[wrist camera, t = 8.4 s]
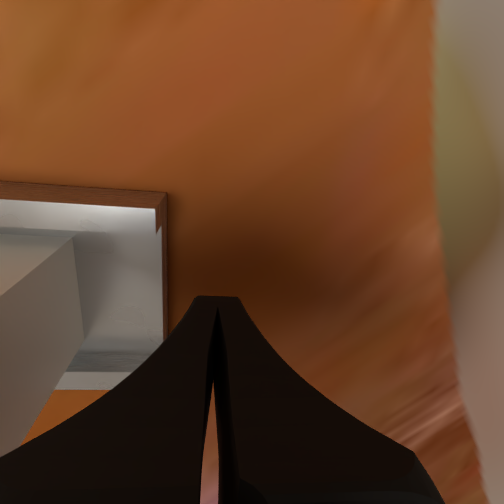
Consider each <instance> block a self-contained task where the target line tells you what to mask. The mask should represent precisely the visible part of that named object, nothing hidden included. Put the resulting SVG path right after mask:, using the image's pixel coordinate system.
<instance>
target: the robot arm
mask: <svg viewBox="0 0 504 504" xmlns="http://www.w3.org/2000/svg"><path fill="white" fill-rule="evenodd" d="M213 381H214V395H215V410H216V424H217V438H218V455H219V490H218V504H445V502H444V501H443V499H442V497H441V495H440V493H439V491H438V490H437V488H436V486H435V485H434V483H433V481H432V479H431V478H430V476H429V474H428V473H427V472H426V470H425V469H424V467H423V466H422V464H421V463H420V461H419V460H418V458H417V457H416V455H415V453H414V452H413V451H411V450H409V449H408V448H406V447H404V446H402V445H401V444H399V443H397V442H395V441H394V440H392V439H390V438H388V437H387V436H385V435H383V434H381V433H379V432H378V431H376V430H374V429H372V428H371V427H369V426H367V425H366V424H364V423H362V422H361V421H359V420H358V419H356V418H355V417H353V416H352V415H350V414H349V413H347V412H346V411H344V410H343V409H341V408H340V407H339V406H337V405H336V404H334V403H333V402H332V401H330V400H329V399H327V398H326V397H325V396H324V395H322V394H321V393H320V392H319V391H317V390H316V389H315V388H314V387H312V386H311V385H310V384H309V383H307V382H306V381H305V380H304V379H303V378H302V377H300V376H299V375H298V374H297V373H296V372H295V371H294V370H293V369H292V368H291V367H290V366H289V365H288V364H287V363H286V362H285V361H284V360H283V359H282V358H281V357H280V356H279V355H278V353H277V352H276V351H275V350H274V349H273V348H272V346H271V345H270V344H269V343H268V342H267V340H266V339H265V338H264V336H263V335H262V334H261V332H260V331H259V330H258V328H257V327H256V325H255V324H254V323H253V321H252V320H251V318H250V316H249V315H248V313H247V312H246V310H245V308H244V306H243V305H242V303H241V301H240V299H239V298H238V297H225V296H197V297H196V298H194V300H193V302H192V304H191V306H190V307H189V309H188V311H187V312H186V313H185V315H184V316H183V318H182V319H181V320H180V322H179V323H178V324H177V326H176V327H175V328H174V330H173V331H172V332H171V333H170V335H169V336H168V337H167V338H166V339H165V340H164V341H163V342H162V344H161V345H160V346H159V347H158V348H157V349H156V350H155V351H154V352H153V353H152V354H151V355H150V356H149V357H148V358H147V359H146V360H145V361H144V362H143V363H142V364H141V365H140V366H139V367H138V368H137V369H135V370H134V371H133V372H132V373H131V374H130V375H128V376H127V377H126V378H125V379H124V380H122V381H121V382H120V383H119V384H117V385H116V386H115V387H114V388H113V389H111V390H110V391H109V392H107V393H106V394H105V395H103V396H102V397H101V398H99V399H98V400H96V401H95V402H93V403H92V404H90V405H89V406H87V407H86V408H84V409H83V410H81V411H80V412H78V413H77V414H75V415H73V416H72V417H70V418H69V419H67V420H66V421H64V422H62V423H61V424H59V425H57V426H56V427H54V428H52V429H51V430H49V431H47V432H45V433H43V434H42V435H40V436H38V437H36V438H34V439H32V440H31V441H29V442H27V443H25V444H23V445H22V446H20V447H18V448H16V449H14V450H13V451H11V452H9V453H7V454H5V455H3V456H1V457H0V504H200V492H201V473H202V461H203V451H204V443H205V436H206V429H207V422H208V415H209V407H210V400H211V393H212V386H213Z"/></svg>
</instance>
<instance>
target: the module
mask: <svg viewBox="0 0 504 504" xmlns="http://www.w3.org/2000/svg"><path fill="white" fill-rule="evenodd" d="M84 340H85V339H84V330H83V322H82V314H81V306H80V297H79V289H78V281H77V273H76V265H75V256H74V248H73V240H72V238H70V237H51V236H32V235H12V234H0V457H1V456H3V455H5V454H7V453H9V452H11V451H13V450H14V449H16V448H18V447H19V446H20V445H21V443H22V441H23V440H24V438H25V437H26V435H27V433H28V432H29V430H30V428H31V427H32V425H33V423H34V422H35V420H36V419H37V417H38V415H39V414H40V412H41V410H42V409H43V407H44V405H45V404H46V402H47V401H48V399H49V397H50V396H51V394H52V392H53V391H54V389H55V387H56V386H57V384H58V383H59V381H60V379H61V378H62V376H63V374H64V373H65V371H66V369H67V368H68V366H69V365H70V363H71V361H72V360H73V358H74V356H75V355H76V353H77V351H78V350H79V348H80V347H81V345H82V343H83V342H84Z"/></svg>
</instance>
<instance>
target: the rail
mask: <svg viewBox="0 0 504 504" xmlns="http://www.w3.org/2000/svg"><path fill="white" fill-rule="evenodd" d="M0 234H12V235H32V236H51V237H70V238H72V240H73V248H74V256H75V265H76V273H77V281H78V289H79V297H80V306H81V314H82V322H83V330H84V339H85V340H84V342H83V343H82V345H81V347H80V348H79V350H78V351H77V353H76V355H75V356H74V358H73V360H72V361H71V363H70V365H69V366H68V368H67V369H66V371H65V373H64V374H63V376H62V378H61V379H60V381H59V383H58V384H57V386H56V387H55V389H61V390H111V389H113V388H114V387H115V386H116V385H117V384H119V383H120V382H121V381H122V380H124V379H125V378H126V377H127V376H128V375H130V374H131V373H132V372H133V371H134V370H135V369H137V368H138V367H139V366H140V365H141V364H142V363H143V362H144V361H145V360H146V359H147V358H148V357H149V356H150V355H151V354H152V353H153V352H154V351H155V350H156V349H157V348H158V347H159V346H160V345H161V344H162V342H163V341H164V340H165V339H166V338H167V337H168V289H167V193H164V192H150V191H135V190H121V189H106V188H91V187H77V186H62V185H48V184H33V183H18V182H4V181H0Z"/></svg>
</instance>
